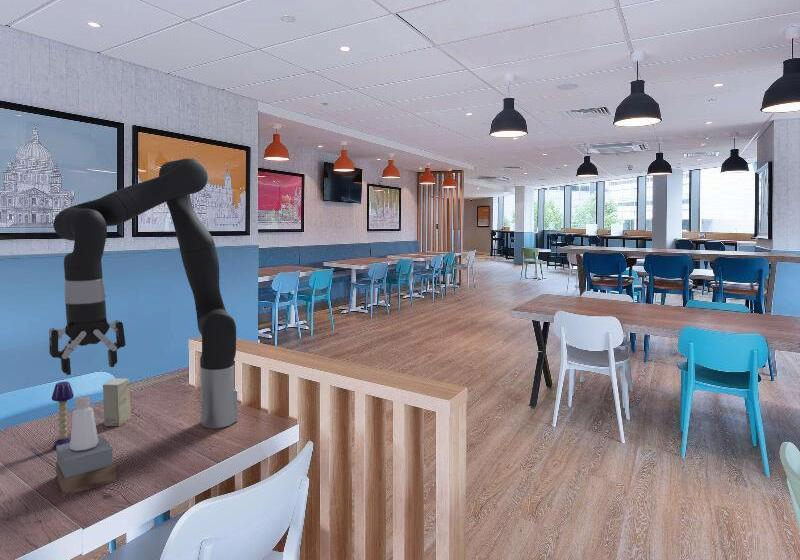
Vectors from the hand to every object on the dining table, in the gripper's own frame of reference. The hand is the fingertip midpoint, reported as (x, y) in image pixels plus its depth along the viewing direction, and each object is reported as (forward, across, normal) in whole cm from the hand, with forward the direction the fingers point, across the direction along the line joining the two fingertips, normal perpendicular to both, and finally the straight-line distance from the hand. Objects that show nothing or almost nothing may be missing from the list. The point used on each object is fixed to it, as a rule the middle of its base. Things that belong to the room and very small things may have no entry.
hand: (90, 370), depth 111 cm
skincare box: (+25, -11, -28) cm, 39 cm away
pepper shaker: (+17, +2, +2) cm, 17 cm away
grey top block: (+21, +3, +2) cm, 21 cm away
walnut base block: (+25, +2, +2) cm, 25 cm away
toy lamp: (+25, +3, -20) cm, 32 cm away
